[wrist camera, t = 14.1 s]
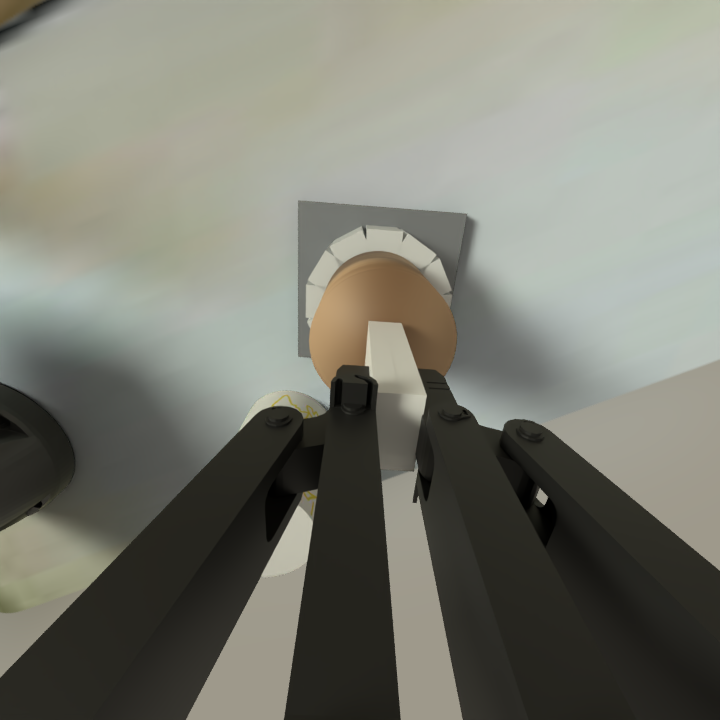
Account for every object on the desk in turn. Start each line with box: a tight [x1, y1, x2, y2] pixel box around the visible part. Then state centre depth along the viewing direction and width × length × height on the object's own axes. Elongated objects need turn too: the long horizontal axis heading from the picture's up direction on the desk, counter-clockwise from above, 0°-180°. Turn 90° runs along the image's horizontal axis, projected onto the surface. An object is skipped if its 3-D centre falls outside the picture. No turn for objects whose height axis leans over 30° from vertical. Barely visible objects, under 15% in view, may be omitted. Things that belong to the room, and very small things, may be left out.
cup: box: [239, 391, 326, 577], centre depth 28 cm, size 8×8×12 cm
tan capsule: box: [309, 251, 457, 389], centre depth 22 cm, size 7×7×11 cm
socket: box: [298, 201, 467, 358], centre depth 25 cm, size 12×12×6 cm
